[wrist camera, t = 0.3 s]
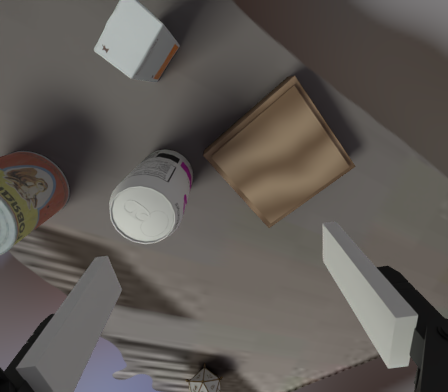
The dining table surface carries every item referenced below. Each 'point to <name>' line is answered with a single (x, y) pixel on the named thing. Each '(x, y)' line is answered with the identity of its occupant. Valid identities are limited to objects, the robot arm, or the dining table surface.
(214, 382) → the game die
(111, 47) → the skincare box
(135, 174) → the supplement can
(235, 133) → the tray
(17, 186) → the canned food
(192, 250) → the dining table surface
